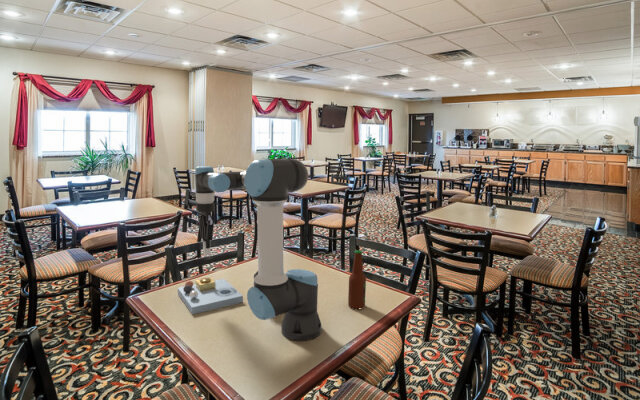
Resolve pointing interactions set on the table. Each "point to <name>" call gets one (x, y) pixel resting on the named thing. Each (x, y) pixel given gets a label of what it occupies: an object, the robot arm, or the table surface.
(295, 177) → the robot arm
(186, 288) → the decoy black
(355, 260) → the bottle
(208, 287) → the yellow square block
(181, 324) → the table surface
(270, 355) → the table surface
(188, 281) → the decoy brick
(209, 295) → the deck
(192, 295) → the steel ball
